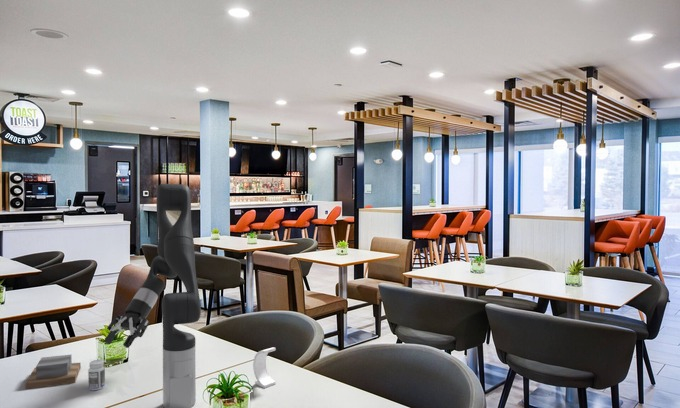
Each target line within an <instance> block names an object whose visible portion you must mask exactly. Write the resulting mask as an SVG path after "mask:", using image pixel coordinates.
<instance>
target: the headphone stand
mask: <svg viewBox="0 0 680 408" xmlns="http://www.w3.org/2000/svg"><path fill="white" fill-rule="evenodd" d="M276 350H277V349H276V347H270V348H266V349H263V350H258V352H256V354H255V355H254V358H253V364H252V367H253V373H254V376H255V379H256V380H255V381H254V385H257V386H259V387H262V388H264V389H265V388H269V387H271V386H274V385H276V383H277V382H276V381H275V379H273V378H272V377H271V376H270V374H269V372H268V369H267V356H268V354H269V353H271V352H275V351H276Z"/></svg>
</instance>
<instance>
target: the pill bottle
mask: <svg viewBox="0 0 680 408" xmlns="http://www.w3.org/2000/svg"><path fill="white" fill-rule="evenodd" d="M105 368H106V367H105V366H104V360H103V359H95V360H92V361H90V362H89V368H88V371H87V373H88V375H87V376H88V390H89V391H98V390H101V389H104V388H105V387H106V371H105V370H106V369H105Z"/></svg>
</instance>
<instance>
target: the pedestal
mask: <svg viewBox="0 0 680 408" xmlns="http://www.w3.org/2000/svg"><path fill="white" fill-rule="evenodd" d="M72 362H73V361H72V354H64V355H54V356H53V355H52V356H45V357H41V358H40V360H39V361H38V363H37V364H36V366H35V367H34V368H33V370H32V371H31V373H30V374H29V376H28V378H27V379H26V381H25V382H24V383H25V389H26V390H27V389H35V388H42V387H51V386H59V385H67V384H75V383H76V381H77V379H78V376H79V374H80V371H81V362H74V363H72Z"/></svg>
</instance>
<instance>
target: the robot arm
mask: <svg viewBox="0 0 680 408" xmlns="http://www.w3.org/2000/svg"><path fill="white" fill-rule="evenodd" d="M191 198H192V197H191V190H190V187H189V186H188V185H187V184H182V183H181V184H179V183H178V184H177V183H176V184H175V183H161V184H159V185H158V186H157V190H156V223H157V232H158V233H157V236H158V237H157V248H156V249H157V251H156V253H157V254H158V255H157V256H155V257H154V258H153V259H152V261H151V264H150V267H149V272H148V274H147V276H146V278H145V280H144V282H143V284H142V285H141V286H140V288H139V289H138V290H137V292H136V293H135V294H134V296H133V298H132V299H131V301H130V302H129V304H128V305H127V307H126V308H125V313H124V315H120V314H116V315H115V316H114V317H113V319H112V320H111V322H110V323H109V325H108V326H107V327H106V329H107V330H108V331H109V333H108V334H107V336H106V337H105V339H104V342H105V344H107V345H111V344H112V342H113V340H114V339H115V338H116V335H117V334H118V333H120V332H123V331H129V335H128V336H127V337H126V339H125V341H124V342H123V347H124V348H126V349H129V348H130V347H131V346H132V344H133V342H134V341H135V339H137V338H142V337H143V335H144V334H145V331H146V330H147V328H148V327H149V325H150V321H149V320H148V319H147V317H148V316H149V314H150V312H151V311H152V309H153V307H154V306H155V305H156V303H157V300H158V299H159V296H160V295H161V294H162V292H163V291H164V289H165V286H166V284H165V281H164V280H162V279H161V278H160V277H158V275H159V276H163V277H166V278H168V279H175V278H177V276H178V278H179V279H180V280H181V282H182V283H183V285H184V287H185V290H186V291H181V292H180V291H177V292H170V293H169V292H167V293H165V294H163V297H162V299H161V318H162V407H163V408H193V407H192V406H194V405H195V404H196V400H197V399H196V395H197V394H196V390H197V389H196V388H197V387H196V336H195V335H194V334H193V333H191V332H187V331H183V330H180V329H177V328H176V327H175V325H184V324H192V323H197V322H198V321H200V318H201V313H202V311H201V310H202V309H201V308H202V307H201V298H200V293H199V292H200V291H199V287H198V280H197V279H198V278H197V273H196V272H197V271H196V256H195V255H196V254H195V244H194V243H195V242H194V241H195V240H194V235H193V227H192V199H191ZM168 211H169V212H170V211H174V212H177V211H178V212H180V214H179V217H178V218H177V219H176V221H175V223H174V224H173V223H172V222H171V221H170V220H169V218H168V216H167V215H168V214H167V212H168Z"/></svg>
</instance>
